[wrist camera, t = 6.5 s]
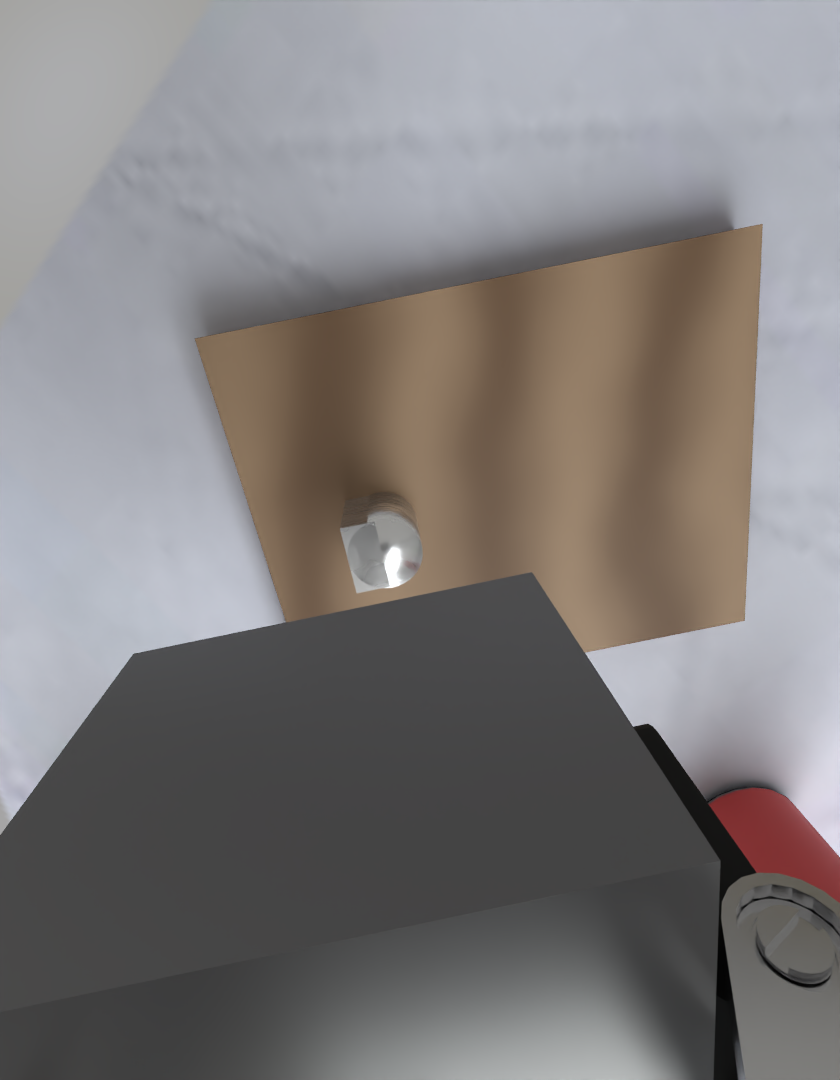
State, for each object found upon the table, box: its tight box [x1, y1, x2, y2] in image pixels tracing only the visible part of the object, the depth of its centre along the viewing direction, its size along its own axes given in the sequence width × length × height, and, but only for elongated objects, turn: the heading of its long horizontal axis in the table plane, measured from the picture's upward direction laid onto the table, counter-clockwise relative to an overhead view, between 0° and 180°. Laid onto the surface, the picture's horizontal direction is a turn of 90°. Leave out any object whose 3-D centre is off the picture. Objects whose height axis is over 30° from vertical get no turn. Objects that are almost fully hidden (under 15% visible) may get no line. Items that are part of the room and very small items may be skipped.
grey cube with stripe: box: [0, 572, 720, 1080], centre depth 7 cm, size 6×6×5 cm
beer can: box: [708, 787, 840, 903], centre depth 26 cm, size 7×7×12 cm
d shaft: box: [340, 492, 423, 593], centre depth 20 cm, size 3×3×3 cm
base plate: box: [195, 224, 763, 653], centre depth 22 cm, size 20×16×2 cm
